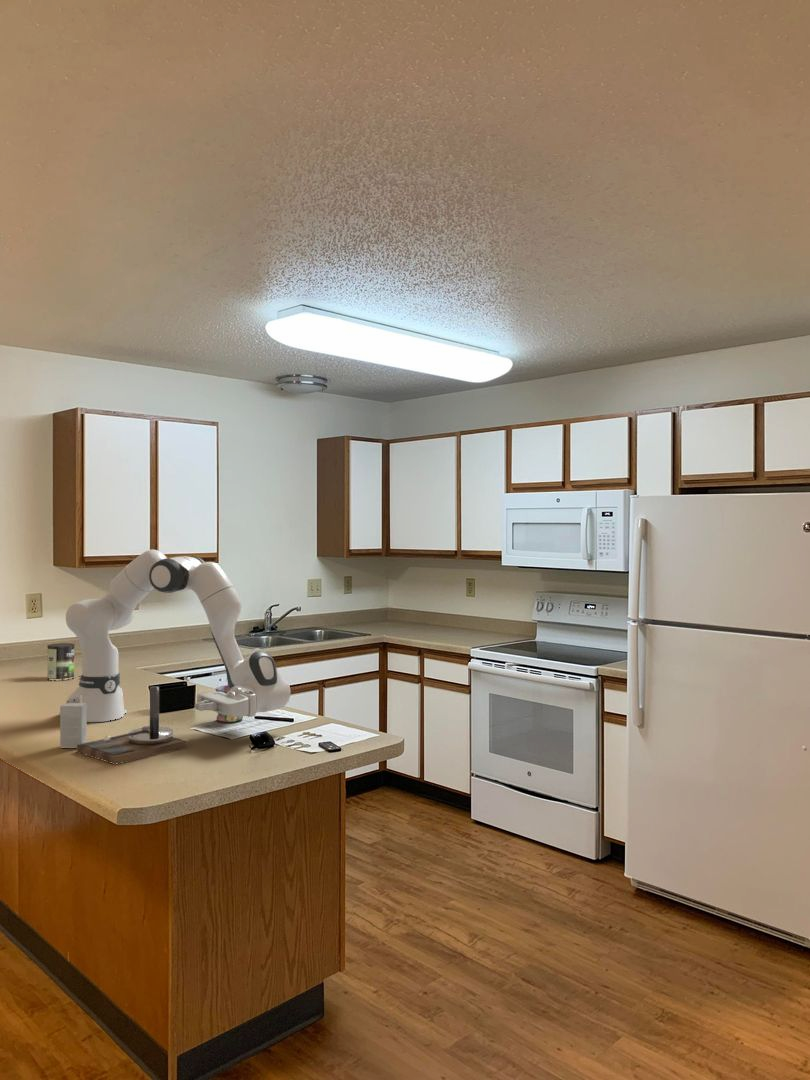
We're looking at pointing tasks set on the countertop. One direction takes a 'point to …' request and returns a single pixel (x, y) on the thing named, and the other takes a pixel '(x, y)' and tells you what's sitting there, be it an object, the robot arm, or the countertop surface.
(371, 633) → the countertop surface
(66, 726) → the skincare box
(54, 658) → the coffee can
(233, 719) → the mug
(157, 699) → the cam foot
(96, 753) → the stand
